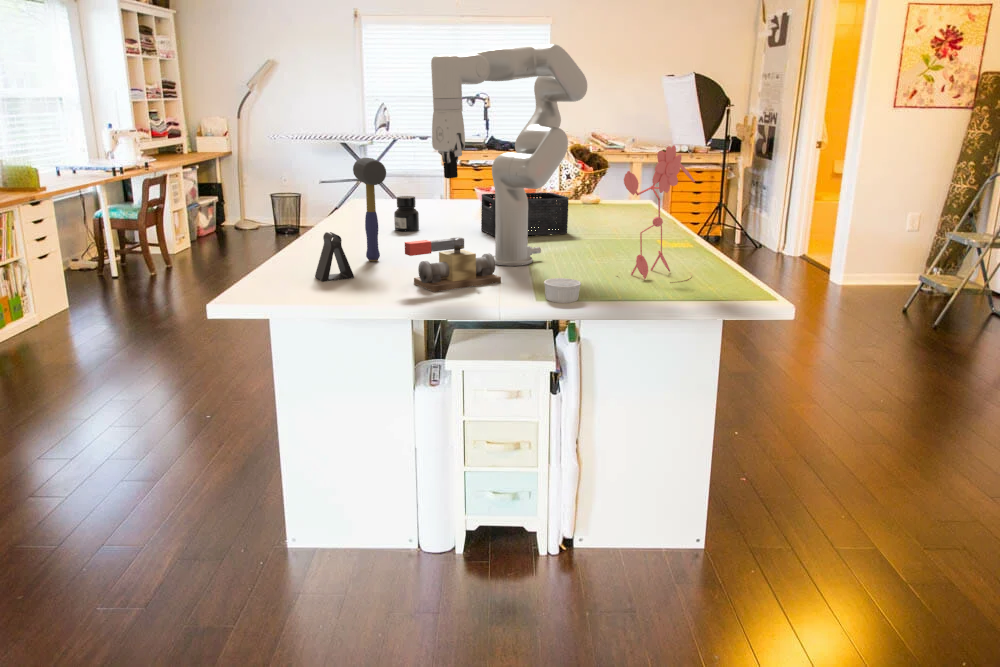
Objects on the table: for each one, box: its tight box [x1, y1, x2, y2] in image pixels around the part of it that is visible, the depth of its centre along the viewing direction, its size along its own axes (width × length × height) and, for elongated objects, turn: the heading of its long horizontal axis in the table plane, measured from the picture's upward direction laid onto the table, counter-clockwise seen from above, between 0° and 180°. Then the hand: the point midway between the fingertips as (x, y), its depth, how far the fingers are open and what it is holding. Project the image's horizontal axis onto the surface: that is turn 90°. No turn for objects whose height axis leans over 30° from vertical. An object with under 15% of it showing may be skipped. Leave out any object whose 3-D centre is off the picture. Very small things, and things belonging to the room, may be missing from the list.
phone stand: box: [314, 231, 355, 283], centre depth 206 cm, size 9×6×12 cm, turn 120°
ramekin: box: [543, 277, 582, 304], centre depth 186 cm, size 9×9×4 cm
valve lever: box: [404, 237, 465, 257], centre depth 196 cm, size 16×4×3 cm, turn 125°
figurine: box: [615, 145, 696, 284], centre depth 206 cm, size 15×26×35 cm, turn 133°
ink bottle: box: [393, 195, 420, 232], centre depth 282 cm, size 10×9×12 cm
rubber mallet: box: [352, 157, 387, 262], centre depth 225 cm, size 12×8×30 cm, turn 25°
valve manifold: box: [413, 249, 502, 293], centre depth 201 cm, size 20×11×9 cm, turn 123°
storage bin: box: [480, 192, 570, 237], centre depth 279 cm, size 29×19×13 cm
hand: (450, 177), depth 205 cm, fingers closed
